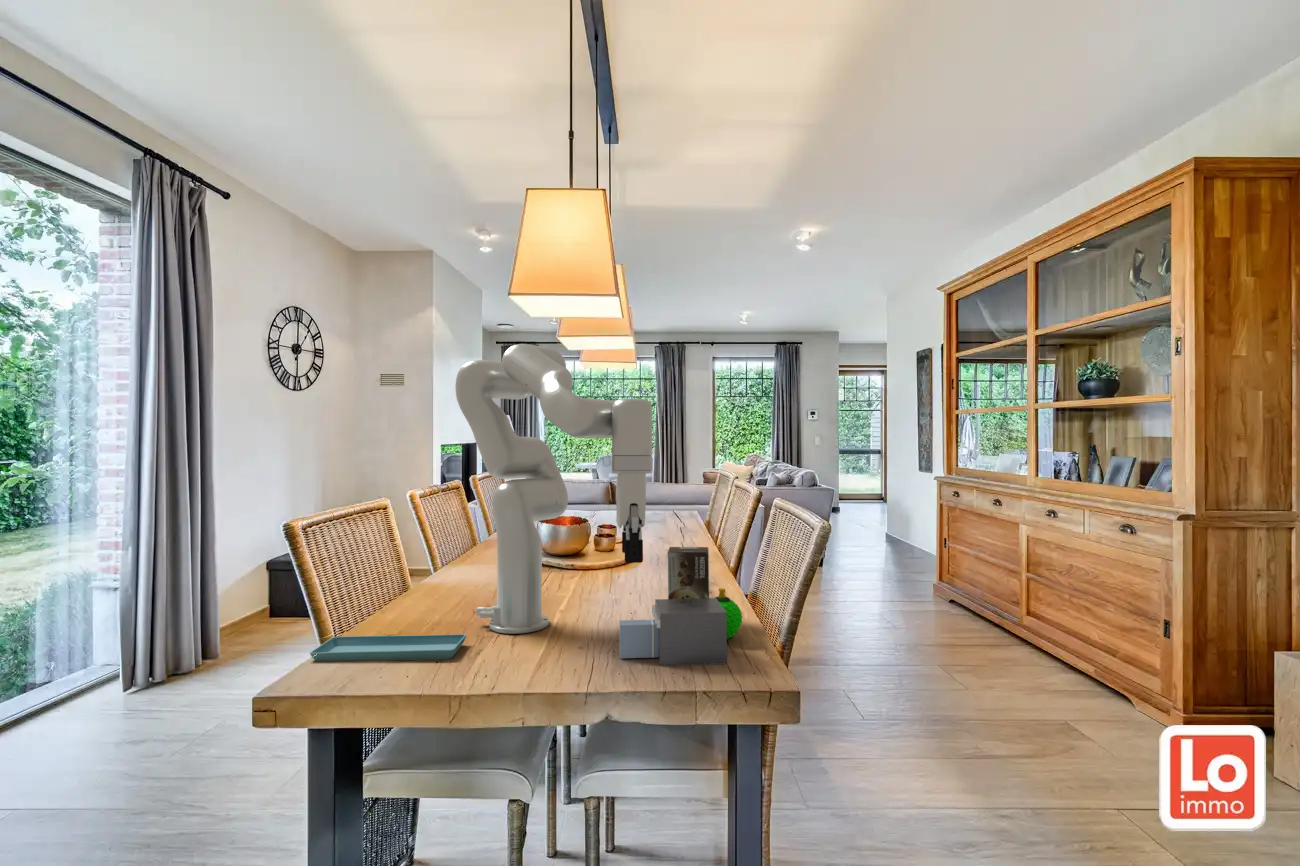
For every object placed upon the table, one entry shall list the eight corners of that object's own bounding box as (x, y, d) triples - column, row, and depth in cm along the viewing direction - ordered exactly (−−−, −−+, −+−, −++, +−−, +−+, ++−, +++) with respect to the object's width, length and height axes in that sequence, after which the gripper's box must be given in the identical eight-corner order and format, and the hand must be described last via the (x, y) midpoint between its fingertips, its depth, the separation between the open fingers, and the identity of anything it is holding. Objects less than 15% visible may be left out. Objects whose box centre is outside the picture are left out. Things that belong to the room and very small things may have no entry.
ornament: (699, 632, 128) (699, 584, 128) (737, 631, 128) (737, 584, 128) (705, 645, 120) (705, 594, 120) (746, 644, 120) (746, 593, 120)
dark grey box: (656, 665, 109) (656, 614, 109) (651, 647, 119) (652, 599, 119) (726, 663, 110) (726, 612, 110) (716, 645, 120) (716, 598, 120)
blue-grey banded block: (620, 658, 112) (620, 625, 112) (619, 652, 115) (619, 620, 115) (696, 656, 113) (696, 623, 113) (693, 650, 116) (693, 618, 116)
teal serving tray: (308, 664, 111) (308, 650, 111) (333, 647, 120) (333, 634, 120) (453, 663, 111) (453, 649, 111) (467, 646, 120) (467, 633, 120)
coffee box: (709, 618, 138) (709, 546, 138) (709, 626, 132) (709, 551, 132) (669, 616, 139) (669, 545, 139) (667, 625, 133) (667, 550, 133)
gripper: (610, 463, 122) (610, 549, 122) (613, 467, 105) (613, 567, 105) (647, 463, 123) (647, 548, 123) (656, 467, 106) (656, 566, 105)
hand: (632, 557), depth 114 cm, fingers open, 9 cm apart
